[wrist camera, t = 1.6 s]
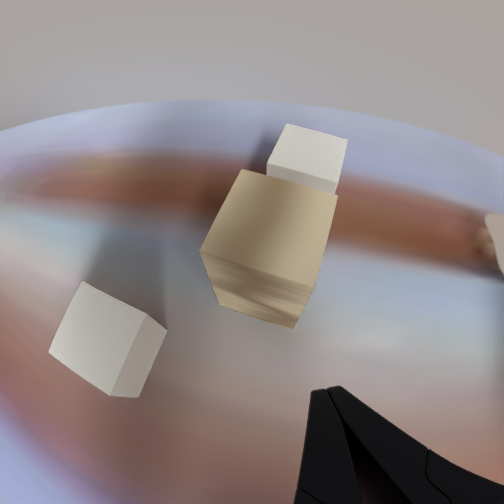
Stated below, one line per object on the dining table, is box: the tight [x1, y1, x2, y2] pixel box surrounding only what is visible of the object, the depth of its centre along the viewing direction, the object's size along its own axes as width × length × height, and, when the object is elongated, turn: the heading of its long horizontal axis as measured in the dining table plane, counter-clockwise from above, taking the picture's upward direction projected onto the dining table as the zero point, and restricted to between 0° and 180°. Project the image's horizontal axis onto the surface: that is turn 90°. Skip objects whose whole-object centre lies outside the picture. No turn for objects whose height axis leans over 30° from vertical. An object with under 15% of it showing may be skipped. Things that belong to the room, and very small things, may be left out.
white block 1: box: [49, 281, 167, 398], centre depth 19 cm, size 6×6×5 cm
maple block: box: [199, 169, 338, 330], centre depth 19 cm, size 6×6×9 cm
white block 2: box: [266, 124, 348, 194], centre depth 26 cm, size 6×6×5 cm
